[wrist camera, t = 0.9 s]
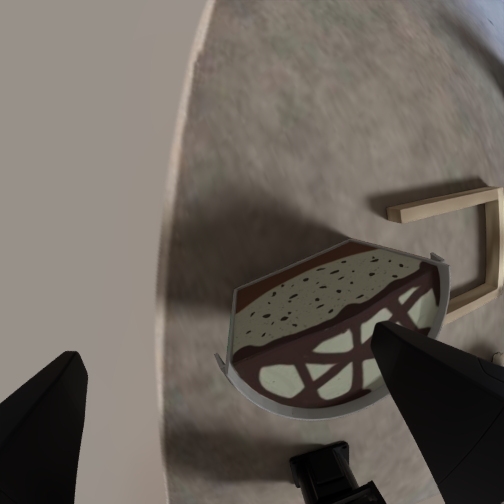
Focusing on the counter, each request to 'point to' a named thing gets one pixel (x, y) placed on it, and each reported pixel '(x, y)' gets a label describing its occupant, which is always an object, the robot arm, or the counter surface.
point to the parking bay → (497, 240)
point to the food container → (329, 327)
